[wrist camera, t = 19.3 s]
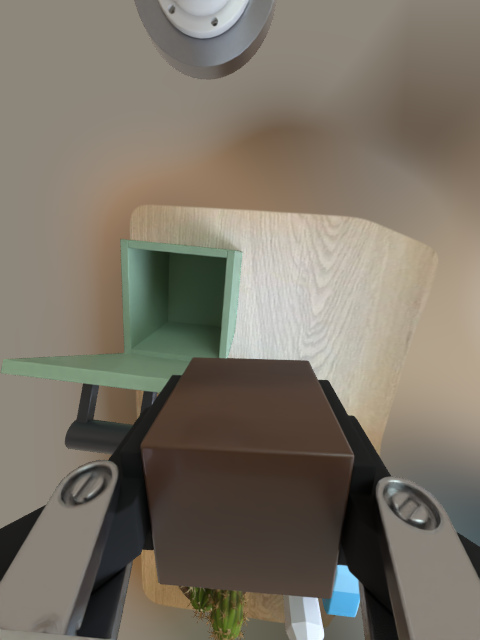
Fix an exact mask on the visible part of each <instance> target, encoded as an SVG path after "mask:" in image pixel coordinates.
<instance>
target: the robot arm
mask: <svg viewBox="0 0 480 640" xmlns="http://www.w3.org/2000/svg"><path fill="white" fill-rule="evenodd" d="M248 1H249V0H158V2H159V4H160V6H161V9H162V11H163V12H164V14H165V15H166V17H167V19H168V20H169V21H170V22H171V23H172V24H173V25H174V26H175V28H177V29H178V30H180V31H181V32H182V33H184V34H186V35H189V36H191V37H195V38H201V39H202V38H212V37H215V36H218V35H220V34H222V33H223V32H225V31H227V30H228V29H229V28H230V27H232V26H233V25H234V24H235V23H236V22H237V20H238V19H239V18H240V16H241V15H242V13H243V12H244V10H245V8H246V6H247V4H248ZM181 376H182V375H172V376H171V377H170V379H169V380H168V382H167V383H166V385H165V386H164V388H163V389H162V391H161V392H160V394H159V395H158V396H157V398H156V399H155V401H154V402H153V404H152V405H151V407H147V408H145V409H144V411H143V412H142V413H141V415H140V416H139V418H138V419H137V420H136V422H135V423H134V425H133V426H132V427H131V429H130V430H129V432H128V433H127V434H126V436H125V437H124V439H123V440H122V441H121V443H120V444H119V446H118V447H117V449H116V450H115V451H114V453H113V454H112V456H111V457H110V458H109V460H97V461H92V462H89V463H86V464H84V465H82V466H80V467H78V468H77V469H75V470H73V471H72V472H71V473H69V474H68V475H67V476H66V477H65V478H64V479H63V480H62V481H61V482H60V483H59V485H58V486H57V487H56V489H55V491H54V492H53V494H52V496H51V497H50V499H49V501H48V502H47V504H46V505H45V506H43V507H41V508H39V509H37V510H35V511H33V512H31V513H30V514H28V515H26V516H24V517H22V518H20V519H18V520H16V521H14V522H13V523H10V524H9V525H7V526H5V527H3V528H1V529H0V640H117V637H118V632H119V627H120V622H121V617H122V613H123V607H124V602H125V598H126V593H127V588H128V583H129V578H130V573H131V568H132V561H133V560H134V559H135V558H136V557H137V556H139V555H140V554H141V552H142V549H143V550H154V546H153V538H152V531H151V523H150V515H149V508H148V500H147V493H146V485H145V478H144V470H143V463H142V455H141V443H142V441H143V439H144V437H145V436H146V434H147V432H148V431H149V429H150V427H151V426H152V424H153V422H154V421H155V419H156V417H157V416H158V414H159V412H160V411H161V409H162V408H163V406H164V404H165V403H166V401H167V399H168V398H169V396H170V394H171V393H172V391H173V389H174V388H175V386H176V384H177V383H178V381H179V379H180V378H181ZM318 381H319V383H320V385H321V388H322V390H323V392H324V394H325V396H326V398H327V400H328V402H329V404H330V406H331V408H332V410H333V412H334V414H335V416H336V418H337V421H338V423H339V425H340V427H341V429H342V431H343V433H344V435H345V437H346V439H347V441H348V443H349V445H350V447H351V449H352V451H353V454H354V463H353V469H352V476H351V482H350V488H349V494H348V500H347V506H346V512H345V519H344V525H343V531H342V537H341V543H340V549H339V555H338V562H337V565H343V566H348V570H349V572H351V573H352V574H353V575H354V576H355V577H356V578H357V579H358V585H359V594H360V602H361V610H362V619H363V626H364V635H365V640H480V547H479V546H477V545H476V544H474V543H473V542H471V541H469V540H468V539H467V538H465V537H464V536H462V535H460V534H459V533H457V532H456V531H455V529H454V527H453V525H452V523H451V521H450V519H449V516H448V514H447V513H446V511H445V510H444V508H443V507H442V505H441V503H439V501H438V500H437V499H436V498H435V497H434V496H433V495H432V494H430V493H429V492H428V491H427V490H425V489H424V488H423V487H421V486H419V485H417V484H416V483H414V482H412V481H409V480H406V479H404V478H400V477H392V476H391V475H390V474H389V472H388V470H387V469H386V467H385V466H384V464H383V462H382V460H381V459H380V457H379V455H378V454H377V452H376V450H375V449H374V447H373V445H372V444H371V442H370V440H369V439H368V437H367V435H366V434H365V432H364V430H363V429H362V427H361V425H360V424H359V422H358V420H357V419H356V418H355V417H354V416H349V415H348V414H347V413H346V411H345V409H344V407H343V405H342V404H341V402H340V400H339V398H338V397H337V395H336V393H335V391H334V389H333V388H332V386H331V384H330V382H329V381H328V380H318Z"/></svg>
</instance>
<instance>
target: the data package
mask: <svg viewBox="0 0 480 640" xmlns="http://www.w3.org/2000/svg"><path fill="white" fill-rule="evenodd" d="M322 600H323V605H324V609H325V611H326V613H327V614H332V615H340V616H349V617H355V616H356V613H357V609H358V606H359V602H360V594H359V585H358V579H357V578H356V577H355V576H354V575H353V574H352V573H351V572H349V570H348V566H343V565H337V568H336V574H335V580H334V586H333V592H332V598H330V599H323V598H322Z"/></svg>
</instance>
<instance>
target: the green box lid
mask: <svg viewBox="0 0 480 640" xmlns="http://www.w3.org/2000/svg"><path fill="white" fill-rule="evenodd" d="M189 363H190V361H185V360H177V359H168V358H160V357H151V356H142V355H134V354H125V353H118V354H98V355H78V356H59V357H39V358H19V359H4V360H3V364H2V368H1V373H3V374H12V375H20V376H28V377H36V378H44V379H52V380H61V381H69V382H77V383H83V387H82V393H81V399H80V404H79V410H78V415H77V420H75V421H74V422H73V423H72V424H71V426H70V427H69V429H68V431H67V434H66V437H65V445H66V447H67V448H68V449H75V450H83V451H90V452H98V453H105V454H113V453H114V451H115V450H116V449H117V447H118V446H119V444H120V443H121V441H122V440H123V439H124V437H125V436H126V434H127V433H128V432H129V430H130V429H131V427H132V426H133V425H130V424H122V423H114V422H107V421H99V420H93V417H94V411H95V406H96V399H97V394H98V388H99V385H102V386H109V387H118V388H126V389H134V390H142V391H144V393H143V400H142V406H141V413H142V412H143V411H144V409H145V408H147V407H151V405H152V404H153V402H154V401H155V399H156V397H157V392H158V393H160V392H161V391H162V389H163V388H164V386H165V385H166V383H167V382H168V380H169V379H170V377H171V376H172V375H182V374H183V373H184V371H185V369H186V368H187V366H188V364H189ZM141 413H140V415H141Z"/></svg>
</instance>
